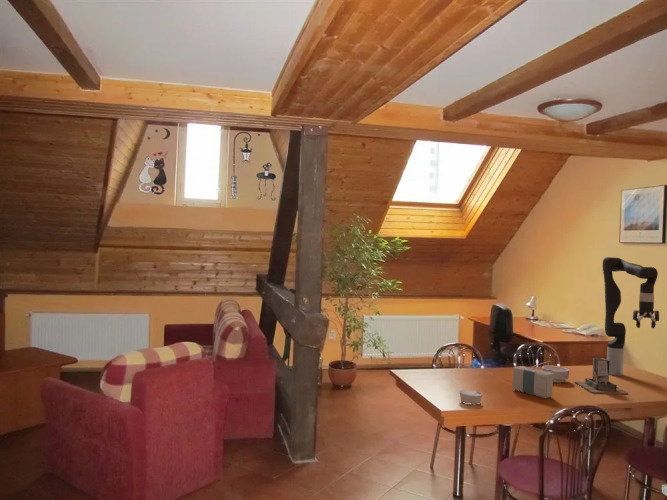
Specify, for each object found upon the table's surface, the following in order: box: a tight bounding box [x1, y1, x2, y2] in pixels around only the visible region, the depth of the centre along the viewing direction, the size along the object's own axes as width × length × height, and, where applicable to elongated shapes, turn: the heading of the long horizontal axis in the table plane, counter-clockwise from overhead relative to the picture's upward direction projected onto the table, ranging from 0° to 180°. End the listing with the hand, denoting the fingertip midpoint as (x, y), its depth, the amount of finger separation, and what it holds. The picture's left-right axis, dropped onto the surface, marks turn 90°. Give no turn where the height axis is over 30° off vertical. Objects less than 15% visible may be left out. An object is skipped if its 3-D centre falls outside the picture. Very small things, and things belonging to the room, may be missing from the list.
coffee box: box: [592, 357, 610, 385], centre depth 308 cm, size 9×6×16 cm
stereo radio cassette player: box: [512, 359, 554, 399], centre depth 293 cm, size 21×8×20 cm, turn 35°
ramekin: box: [459, 389, 483, 404], centre depth 274 cm, size 11×11×5 cm
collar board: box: [574, 377, 629, 396], centre depth 308 cm, size 22×20×4 cm
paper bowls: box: [541, 365, 570, 384], centre depth 323 cm, size 15×15×8 cm
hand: (645, 327), depth 318 cm, fingers open, 8 cm apart
